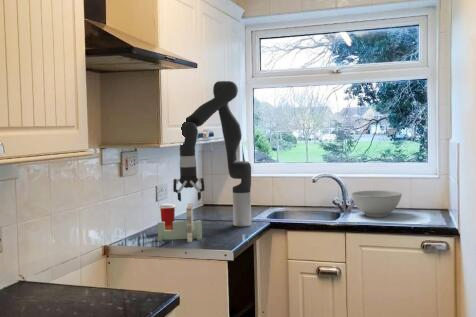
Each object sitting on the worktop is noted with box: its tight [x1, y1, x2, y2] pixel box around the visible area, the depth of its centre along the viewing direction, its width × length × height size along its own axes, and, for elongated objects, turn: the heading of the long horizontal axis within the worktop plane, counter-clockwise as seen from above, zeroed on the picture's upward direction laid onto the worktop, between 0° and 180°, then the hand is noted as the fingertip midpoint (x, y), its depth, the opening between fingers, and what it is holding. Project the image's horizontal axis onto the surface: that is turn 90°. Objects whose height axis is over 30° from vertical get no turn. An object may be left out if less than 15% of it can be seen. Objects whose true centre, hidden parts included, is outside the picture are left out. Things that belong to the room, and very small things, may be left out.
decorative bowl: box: [351, 190, 403, 218], centre depth 286 cm, size 27×27×12 cm
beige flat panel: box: [186, 203, 194, 243], centre depth 239 cm, size 16×2×15 cm, turn 2°
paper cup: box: [159, 202, 176, 230], centre depth 254 cm, size 8×8×14 cm
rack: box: [156, 220, 203, 242], centre depth 240 cm, size 8×20×8 cm, turn 92°
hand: (189, 200), depth 239 cm, fingers open, 8 cm apart
